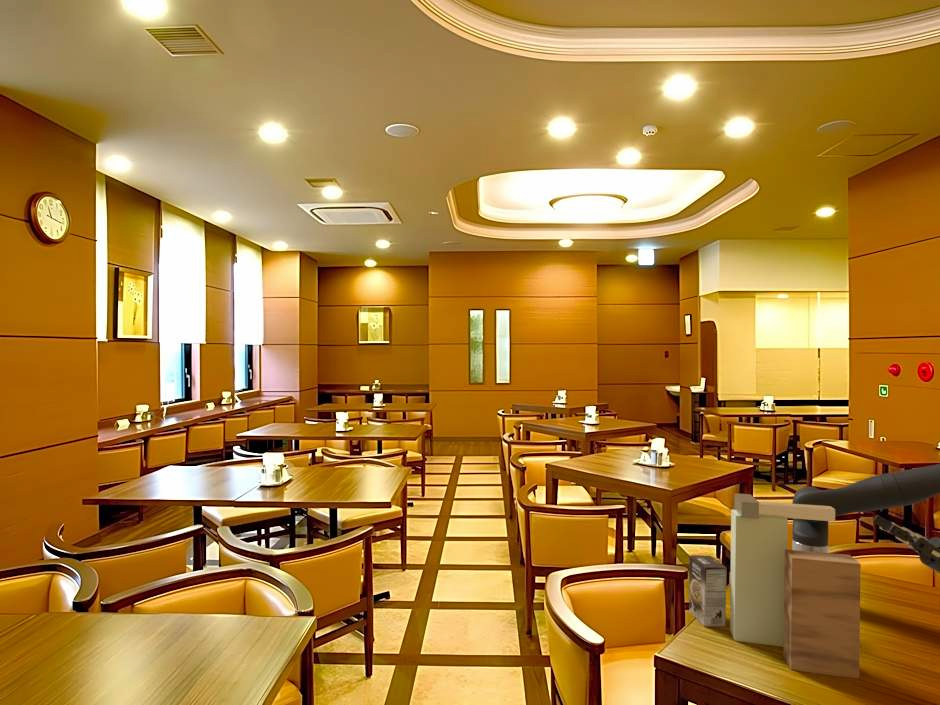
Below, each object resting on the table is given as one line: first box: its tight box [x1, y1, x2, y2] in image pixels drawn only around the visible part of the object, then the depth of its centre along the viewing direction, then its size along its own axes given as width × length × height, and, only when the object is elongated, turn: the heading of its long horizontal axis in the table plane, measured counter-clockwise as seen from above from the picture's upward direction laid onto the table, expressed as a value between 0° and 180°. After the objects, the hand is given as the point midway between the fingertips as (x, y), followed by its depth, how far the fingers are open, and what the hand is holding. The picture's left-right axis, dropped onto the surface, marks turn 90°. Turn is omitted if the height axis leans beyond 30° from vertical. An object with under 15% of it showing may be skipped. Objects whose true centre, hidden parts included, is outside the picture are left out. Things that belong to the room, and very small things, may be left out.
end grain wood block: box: [733, 492, 836, 522], centre depth 145 cm, size 9×22×4 cm, turn 76°
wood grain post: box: [782, 549, 862, 680], centre depth 133 cm, size 6×14×26 cm, turn 76°
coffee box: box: [688, 554, 728, 627], centre depth 157 cm, size 9×6×16 cm
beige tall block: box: [729, 508, 789, 648], centre depth 147 cm, size 6×12×32 cm, turn 76°
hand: (882, 523), depth 140 cm, fingers open, 8 cm apart
